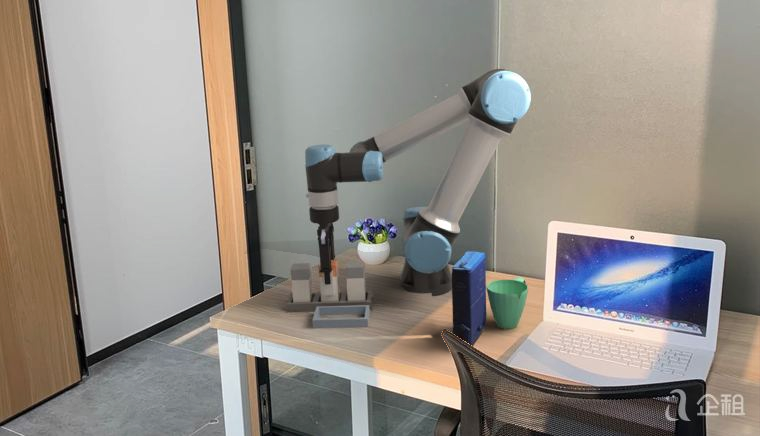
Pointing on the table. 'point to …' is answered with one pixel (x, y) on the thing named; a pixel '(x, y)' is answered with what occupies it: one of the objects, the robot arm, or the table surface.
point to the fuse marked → (336, 284)
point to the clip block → (317, 302)
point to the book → (469, 296)
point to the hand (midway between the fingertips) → (330, 290)
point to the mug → (507, 301)
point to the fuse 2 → (355, 281)
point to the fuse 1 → (301, 282)
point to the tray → (341, 321)
